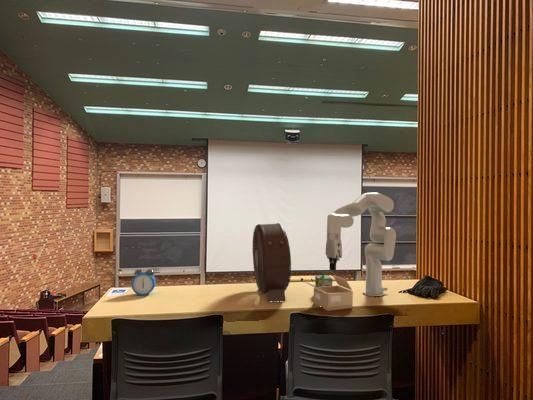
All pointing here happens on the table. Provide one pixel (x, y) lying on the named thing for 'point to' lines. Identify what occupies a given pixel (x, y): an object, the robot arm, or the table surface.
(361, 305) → the table surface
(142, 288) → the alarm clock
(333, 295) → the carton
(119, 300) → the table surface
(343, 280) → the flap
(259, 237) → the fan
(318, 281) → the chalk box
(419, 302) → the table surface
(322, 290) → the flap
